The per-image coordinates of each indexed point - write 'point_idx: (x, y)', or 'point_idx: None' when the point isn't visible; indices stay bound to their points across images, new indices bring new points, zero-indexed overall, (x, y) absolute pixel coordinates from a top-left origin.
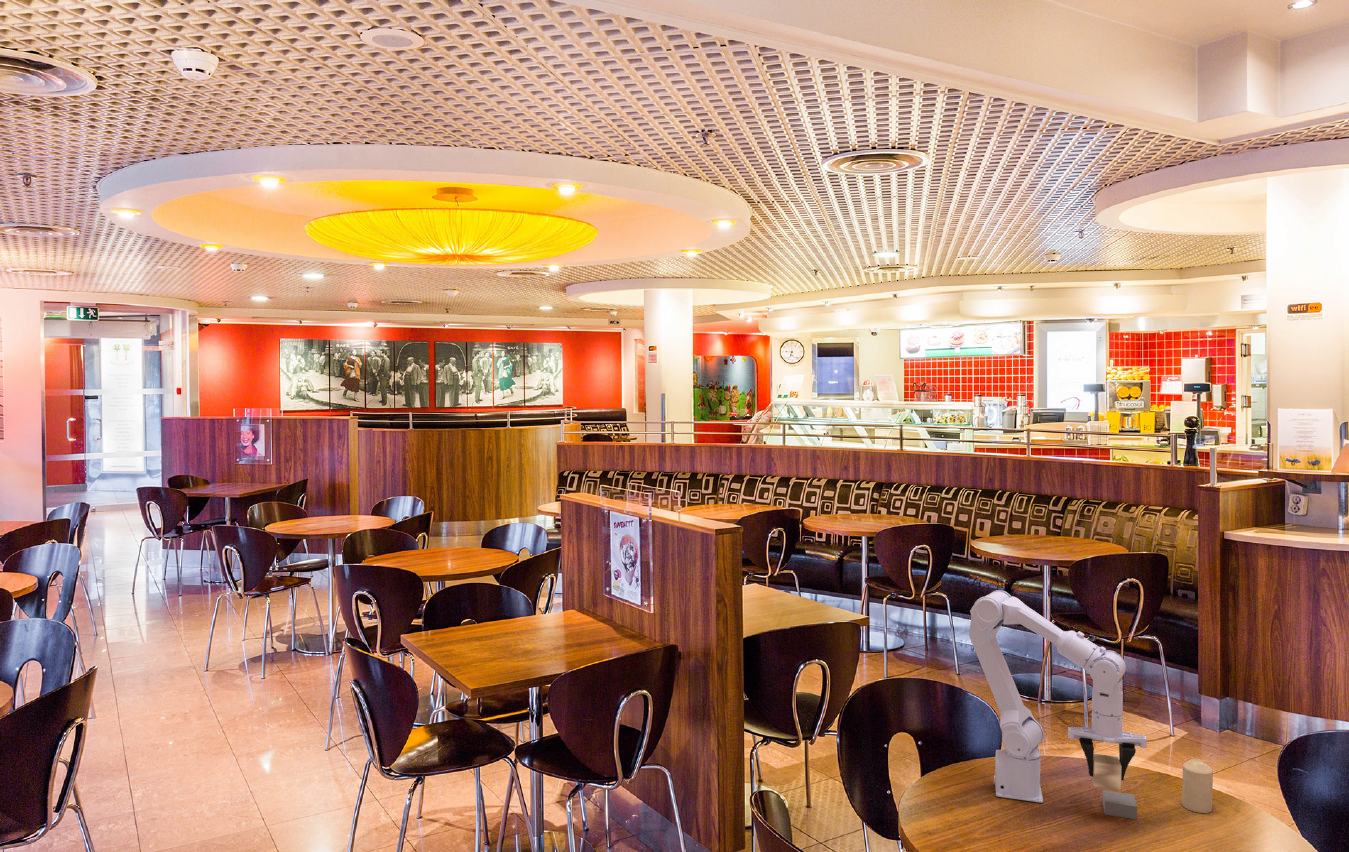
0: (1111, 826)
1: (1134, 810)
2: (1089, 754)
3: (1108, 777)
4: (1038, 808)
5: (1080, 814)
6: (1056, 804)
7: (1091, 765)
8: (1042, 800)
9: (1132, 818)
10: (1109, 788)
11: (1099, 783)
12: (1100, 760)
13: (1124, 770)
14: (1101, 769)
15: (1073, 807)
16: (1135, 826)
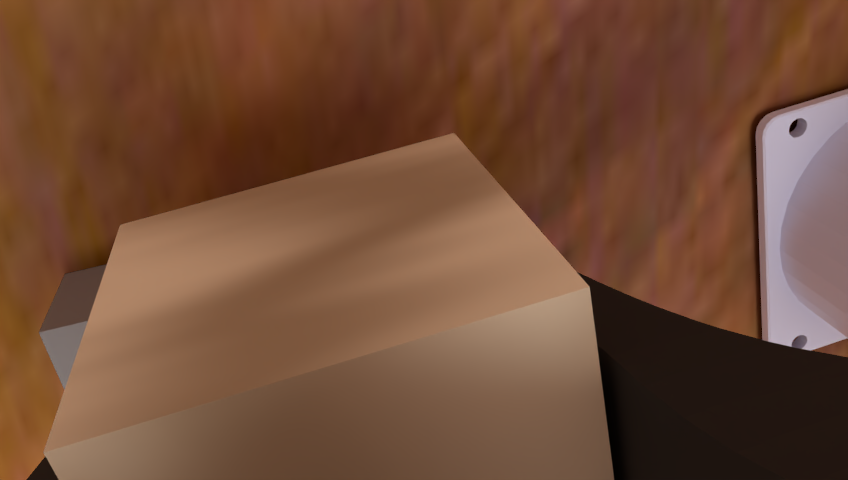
0: (219, 7)
1: (69, 306)
2: (764, 391)
3: (290, 245)
4: (786, 8)
5: (483, 96)
6: (658, 167)
7: (594, 313)
8: (768, 128)
9: (98, 268)
10: (265, 185)
11: (398, 168)
12: (482, 460)
13: (44, 476)
14: (422, 268)
15: (540, 192)
16: (37, 136)
